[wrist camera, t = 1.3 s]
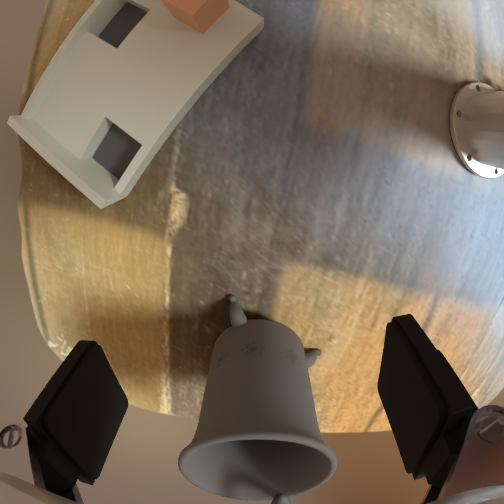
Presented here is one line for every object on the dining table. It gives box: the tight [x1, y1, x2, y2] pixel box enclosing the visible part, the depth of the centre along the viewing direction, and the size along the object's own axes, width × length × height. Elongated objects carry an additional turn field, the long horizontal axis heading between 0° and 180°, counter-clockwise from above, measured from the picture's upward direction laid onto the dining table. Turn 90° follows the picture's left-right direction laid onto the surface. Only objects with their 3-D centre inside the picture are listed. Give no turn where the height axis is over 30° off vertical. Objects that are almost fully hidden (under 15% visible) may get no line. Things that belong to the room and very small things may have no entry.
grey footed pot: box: [178, 295, 337, 504], centre depth 27 cm, size 19×15×25 cm
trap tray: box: [7, 0, 264, 209], centre depth 24 cm, size 24×17×6 cm
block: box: [161, 0, 230, 34], centre depth 20 cm, size 4×4×5 cm
